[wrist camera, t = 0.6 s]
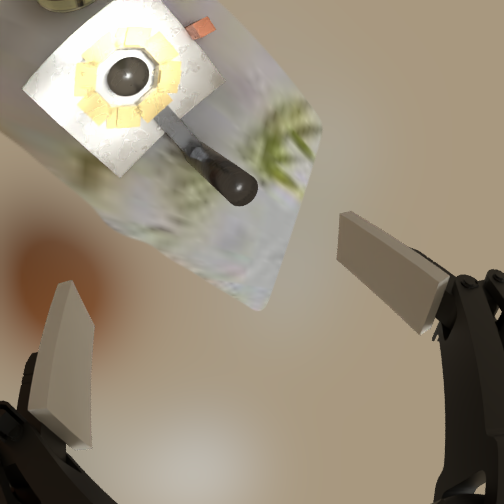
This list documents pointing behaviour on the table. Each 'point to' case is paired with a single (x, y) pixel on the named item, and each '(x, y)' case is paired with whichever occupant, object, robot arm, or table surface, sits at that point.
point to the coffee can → (64, 5)
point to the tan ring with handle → (157, 107)
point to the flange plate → (64, 78)
